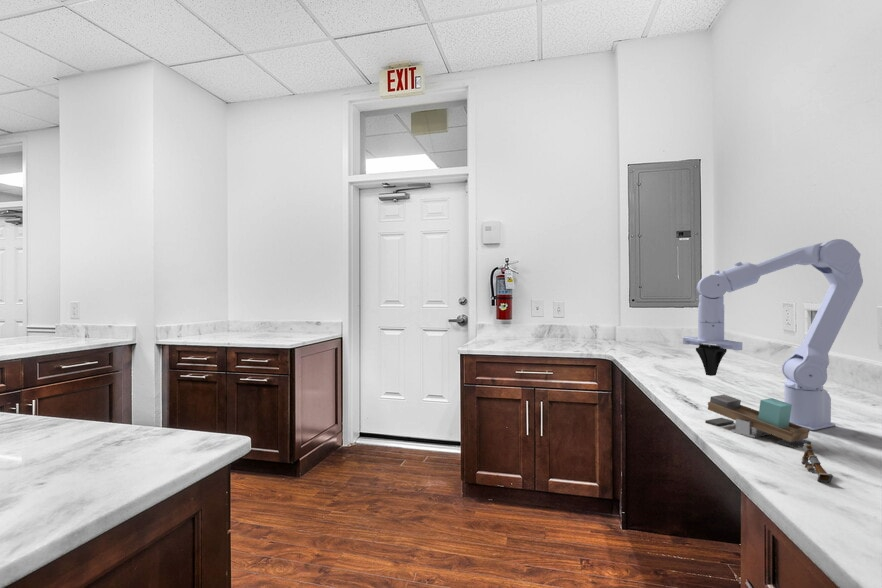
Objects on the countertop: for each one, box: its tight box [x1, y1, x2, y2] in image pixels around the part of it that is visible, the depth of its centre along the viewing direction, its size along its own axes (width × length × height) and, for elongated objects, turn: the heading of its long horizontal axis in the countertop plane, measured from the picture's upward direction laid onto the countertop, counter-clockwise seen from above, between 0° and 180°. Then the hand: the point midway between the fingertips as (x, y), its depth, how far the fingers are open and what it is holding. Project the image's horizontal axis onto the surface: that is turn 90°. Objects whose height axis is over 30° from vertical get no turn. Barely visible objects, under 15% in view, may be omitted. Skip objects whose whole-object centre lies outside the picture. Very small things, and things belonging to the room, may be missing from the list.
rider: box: [758, 397, 792, 428], centre depth 96 cm, size 4×4×5 cm
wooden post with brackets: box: [801, 443, 834, 484], centre depth 78 cm, size 2×8×4 cm, turn 162°
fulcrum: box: [705, 417, 812, 449], centre depth 100 cm, size 8×19×3 cm, turn 24°
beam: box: [707, 394, 811, 442], centre depth 100 cm, size 6×18×4 cm, turn 24°
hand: (710, 375), depth 113 cm, fingers closed
